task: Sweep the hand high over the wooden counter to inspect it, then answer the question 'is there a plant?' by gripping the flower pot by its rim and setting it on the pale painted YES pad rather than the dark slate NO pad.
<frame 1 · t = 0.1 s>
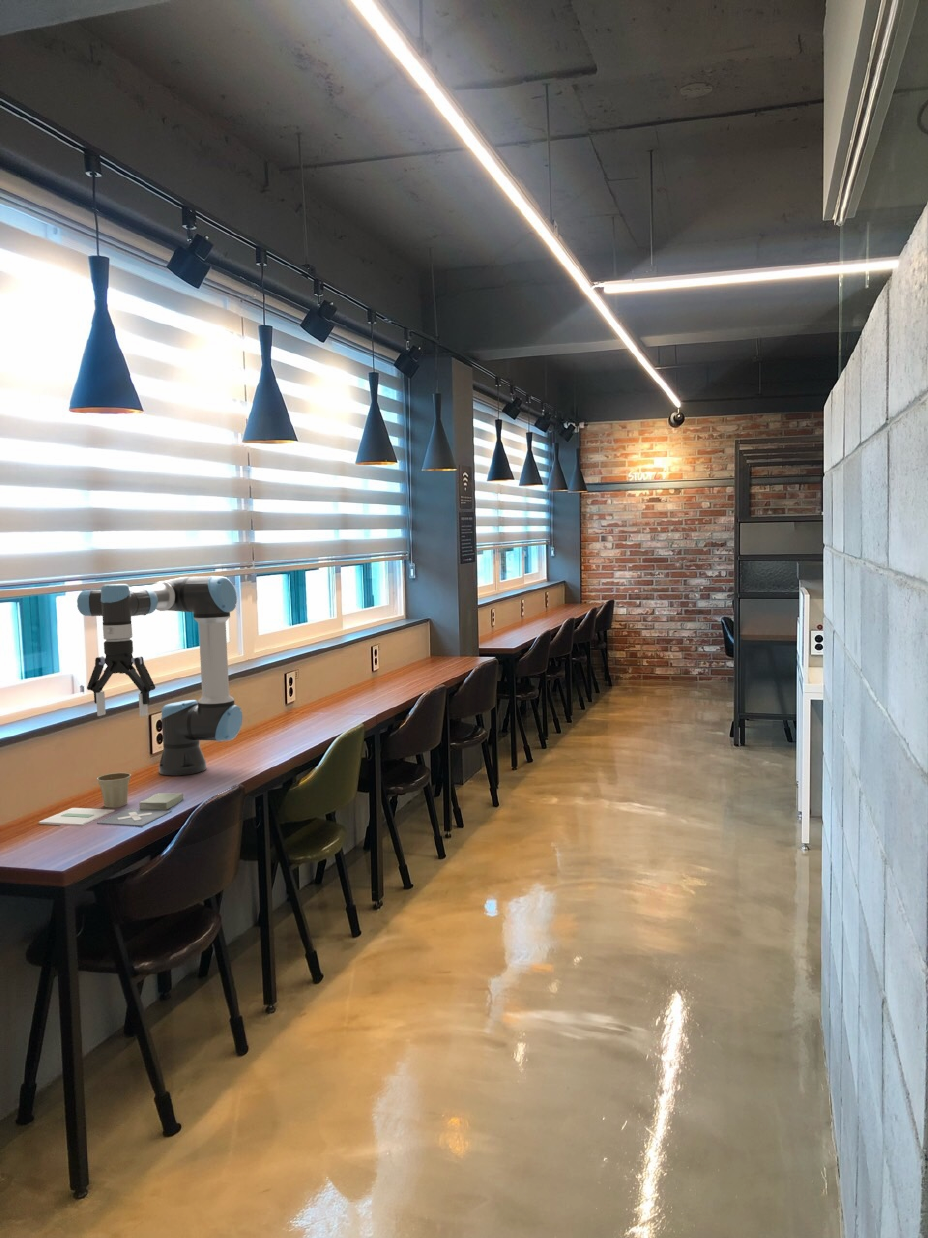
hand: (122, 715, 264), 28 cm above the table, fingers open, 13 cm apart
flower pot: (115, 806, 276), on the table
yes pad: (77, 817, 264), on the table
no pad: (135, 818, 262), on the table
notebook: (161, 804, 274), on the table, touching no pad
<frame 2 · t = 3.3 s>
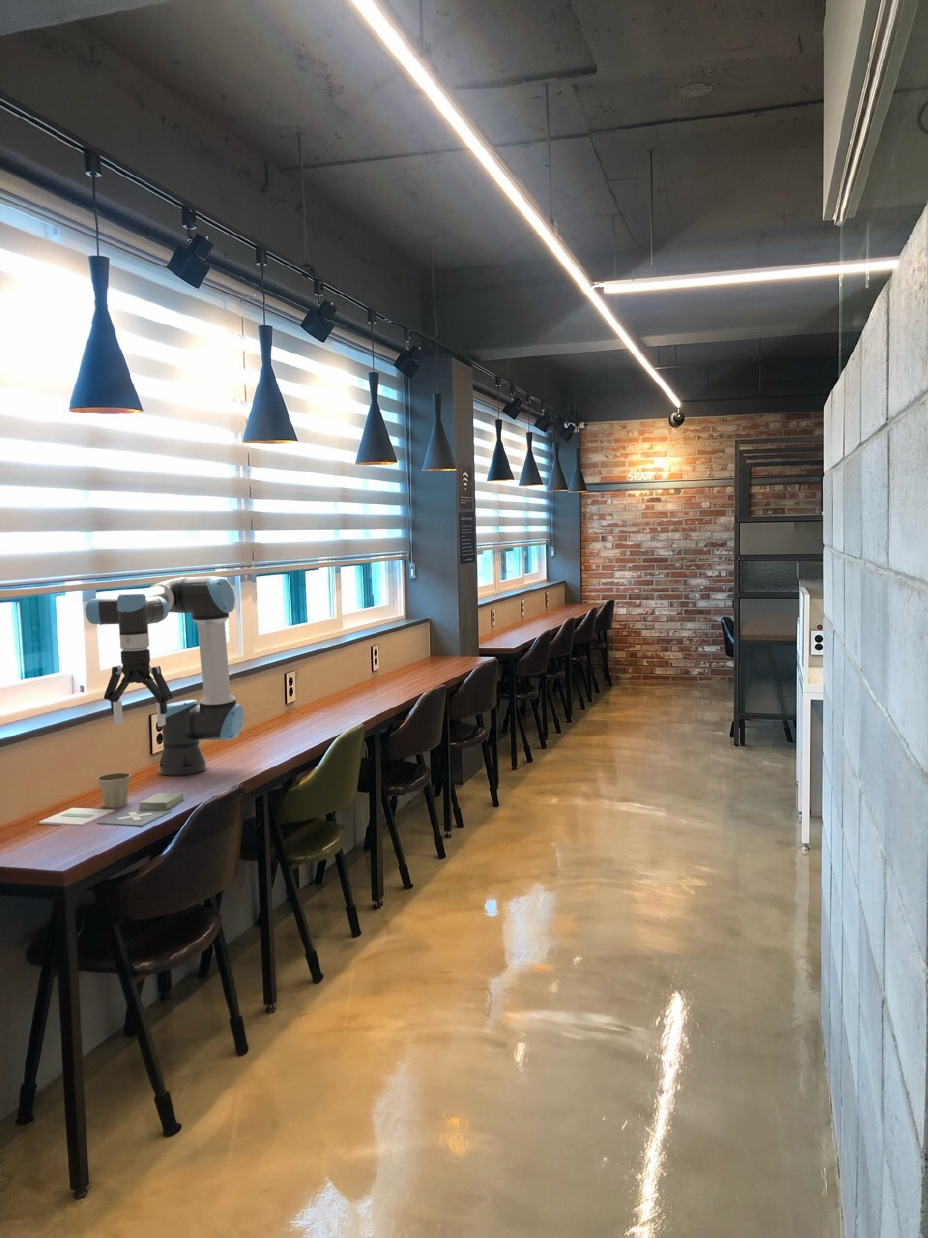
hand: (140, 725, 263), 25 cm above the table, fingers open, 13 cm apart
nothing on the table moved.
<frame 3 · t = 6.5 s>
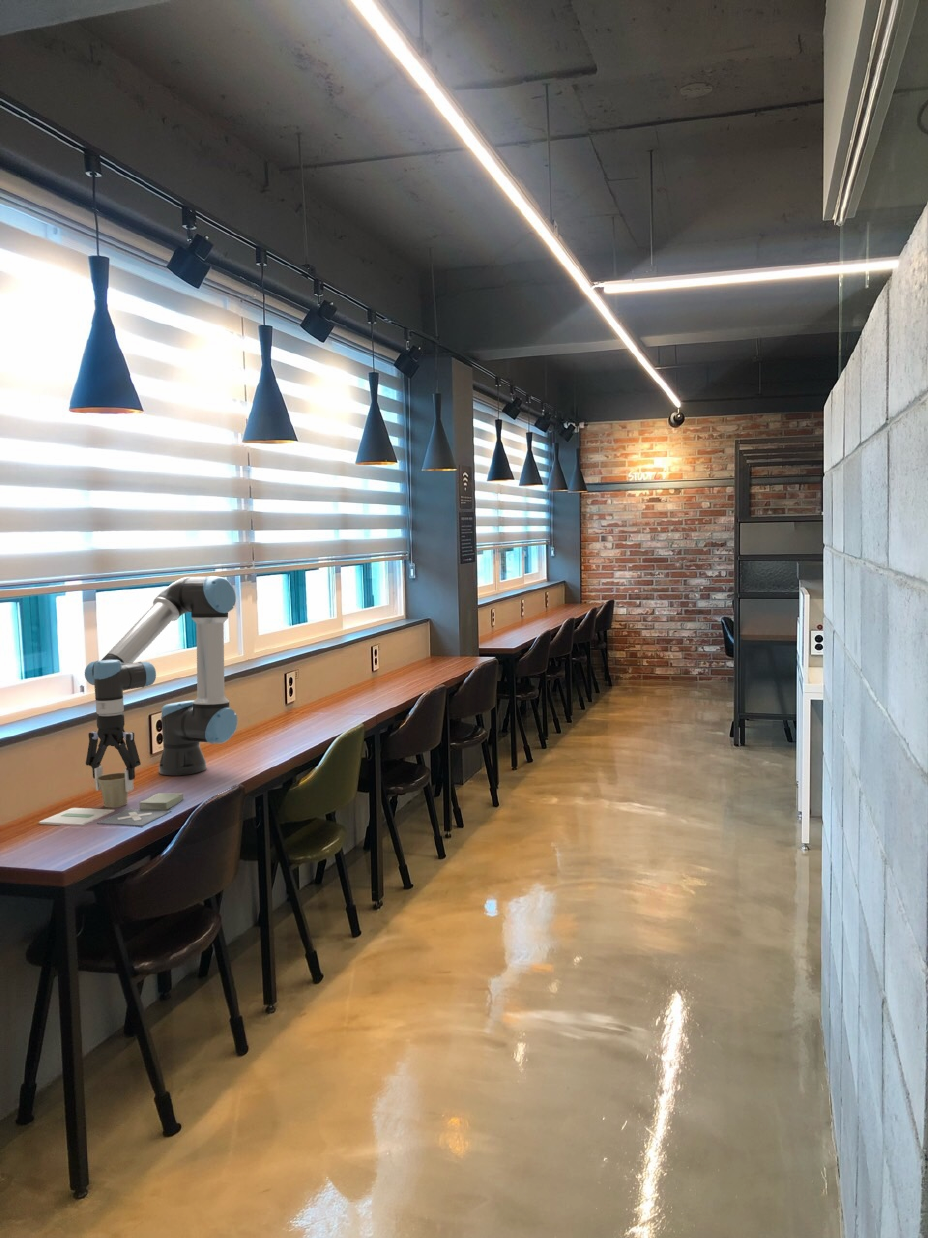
hand: (114, 790, 276), 5 cm above the table, fingers closed on flower pot, 9 cm apart
flower pot: (115, 806, 276), on the table, touching gripper
everything else where it was.
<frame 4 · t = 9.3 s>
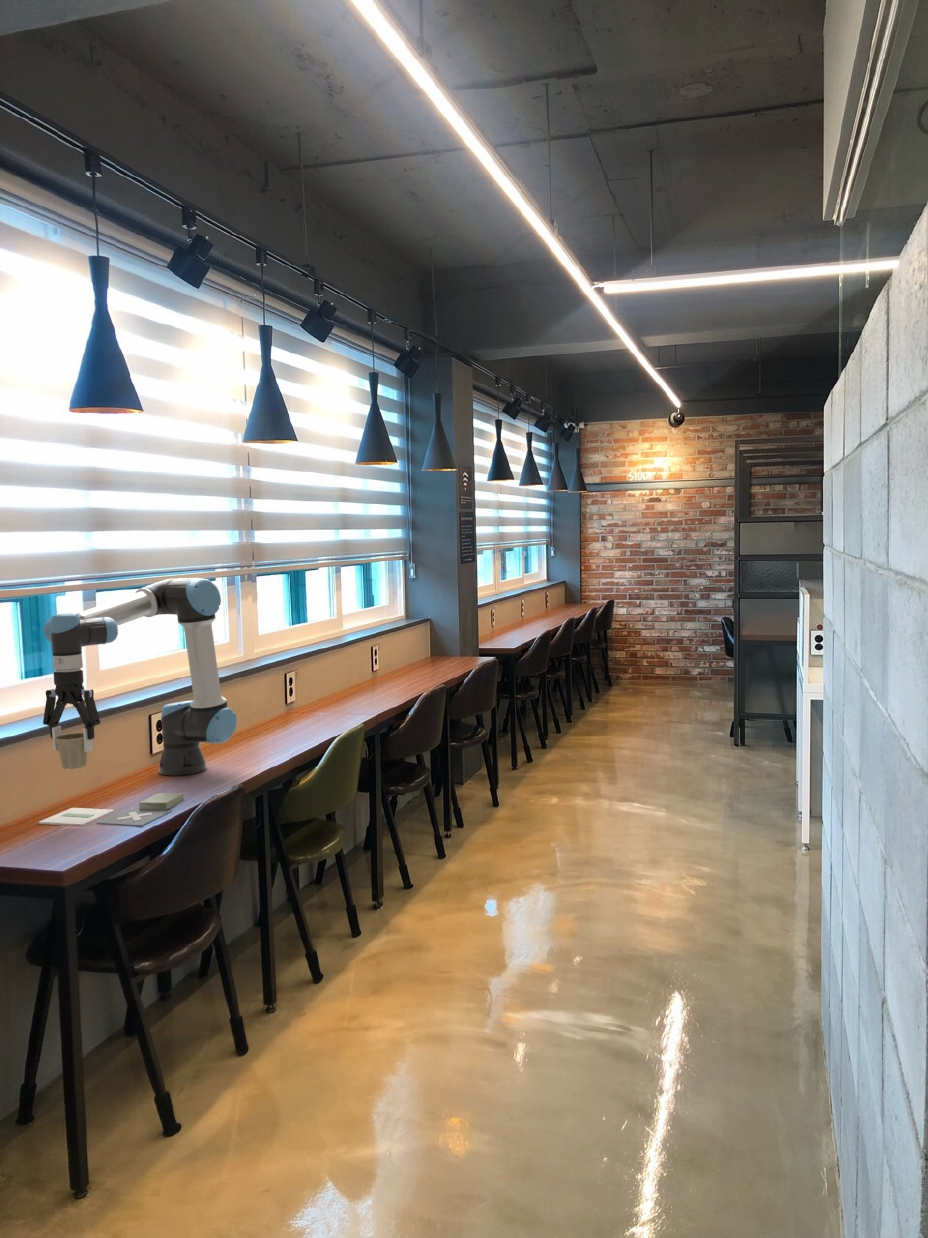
hand: (73, 750, 263), 19 cm above the table, fingers closed on flower pot, 9 cm apart
flower pot: (74, 767, 263), point 14 cm above the table, touching gripper
everything else where it was.
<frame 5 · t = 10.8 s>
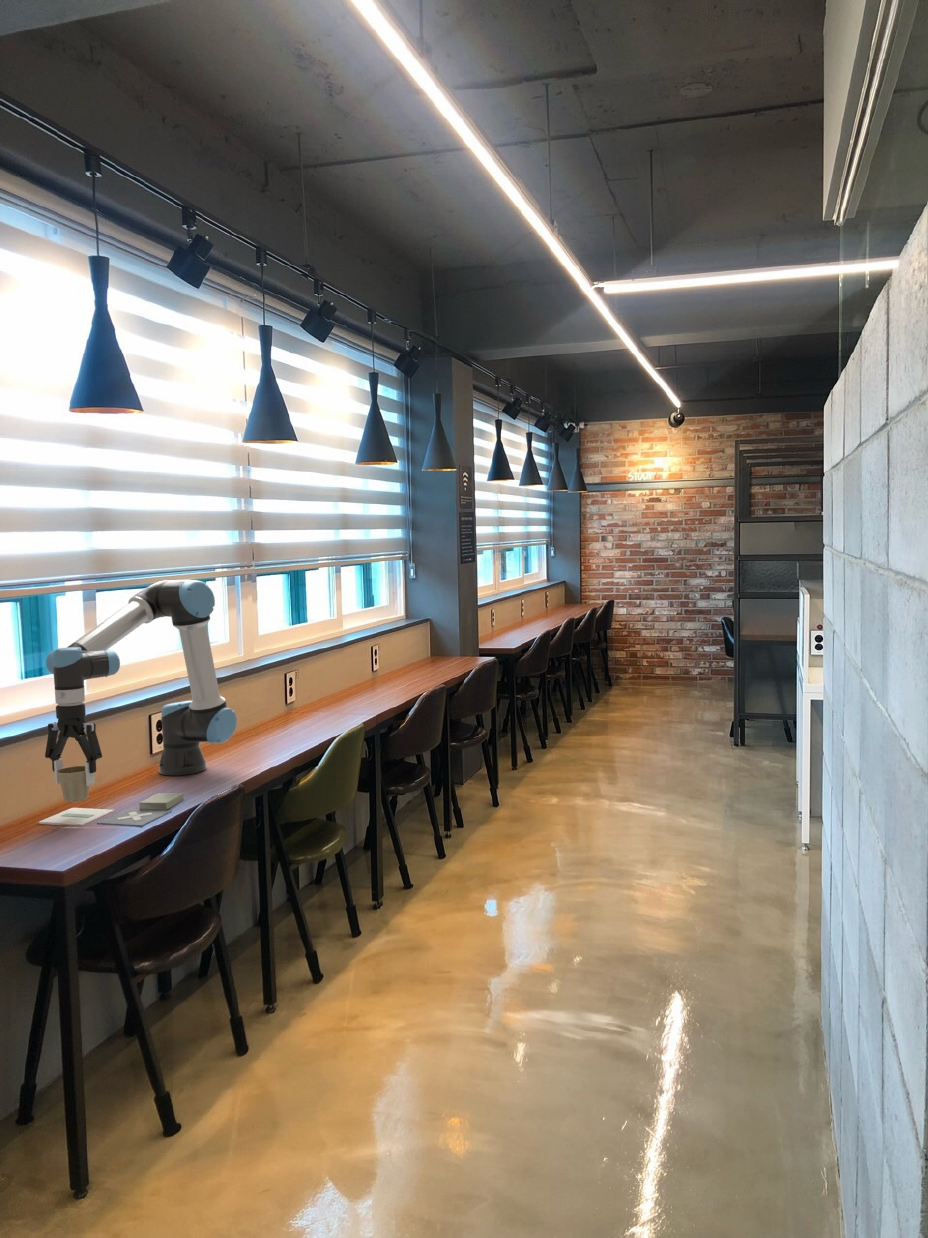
hand: (75, 783, 263), 10 cm above the table, fingers closed on flower pot, 9 cm apart
flower pot: (76, 800, 264), point 5 cm above the table, touching gripper
everything else where it was.
when the fingers open (6 cm above the table, at t = 12.1 s): flower pot stays where it is, resting on yes pad.
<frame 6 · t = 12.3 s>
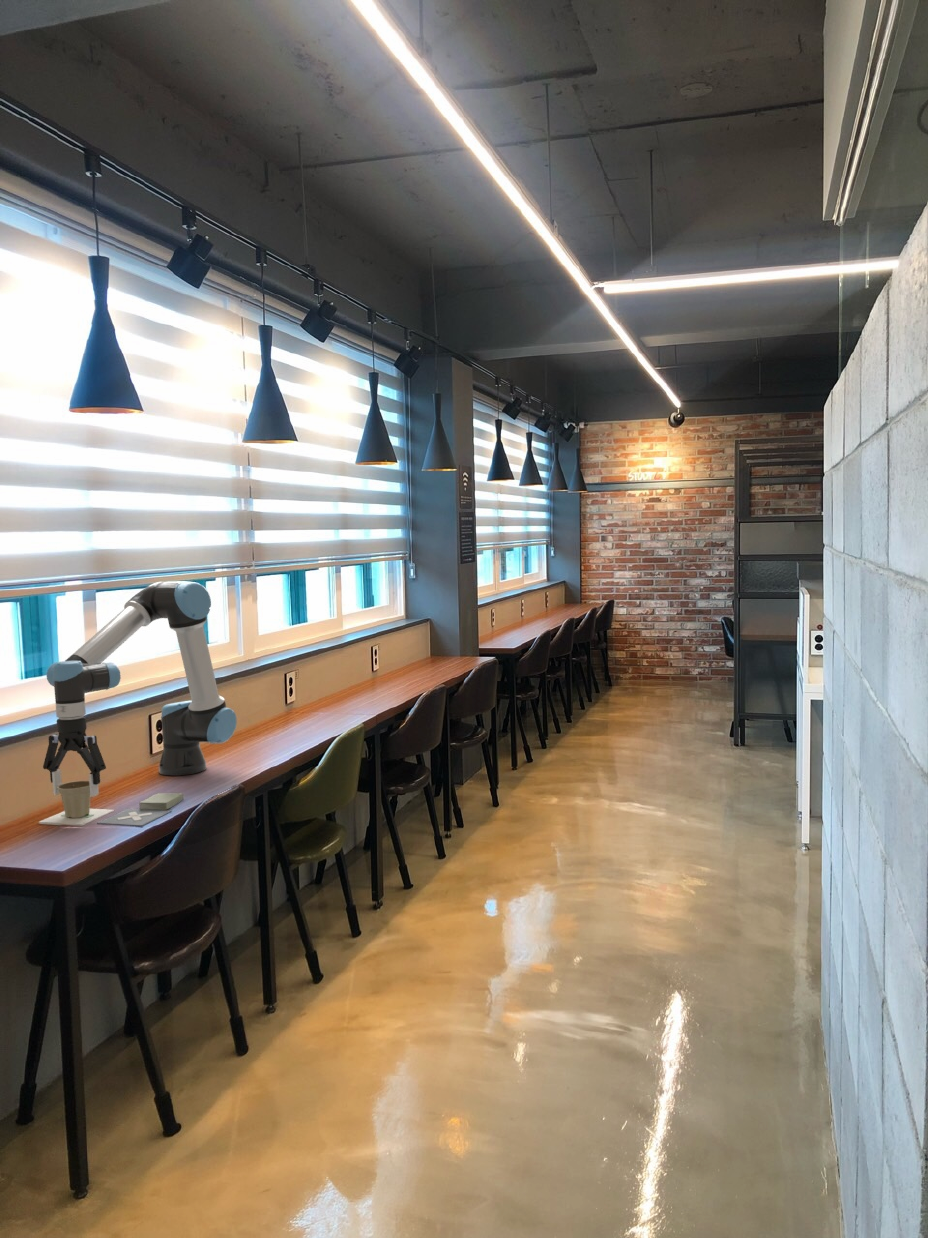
hand: (76, 795, 264), 6 cm above the table, fingers open, 11 cm apart
flower pot: (77, 815, 264), point 1 cm above the table, touching yes pad
everything else where it was.
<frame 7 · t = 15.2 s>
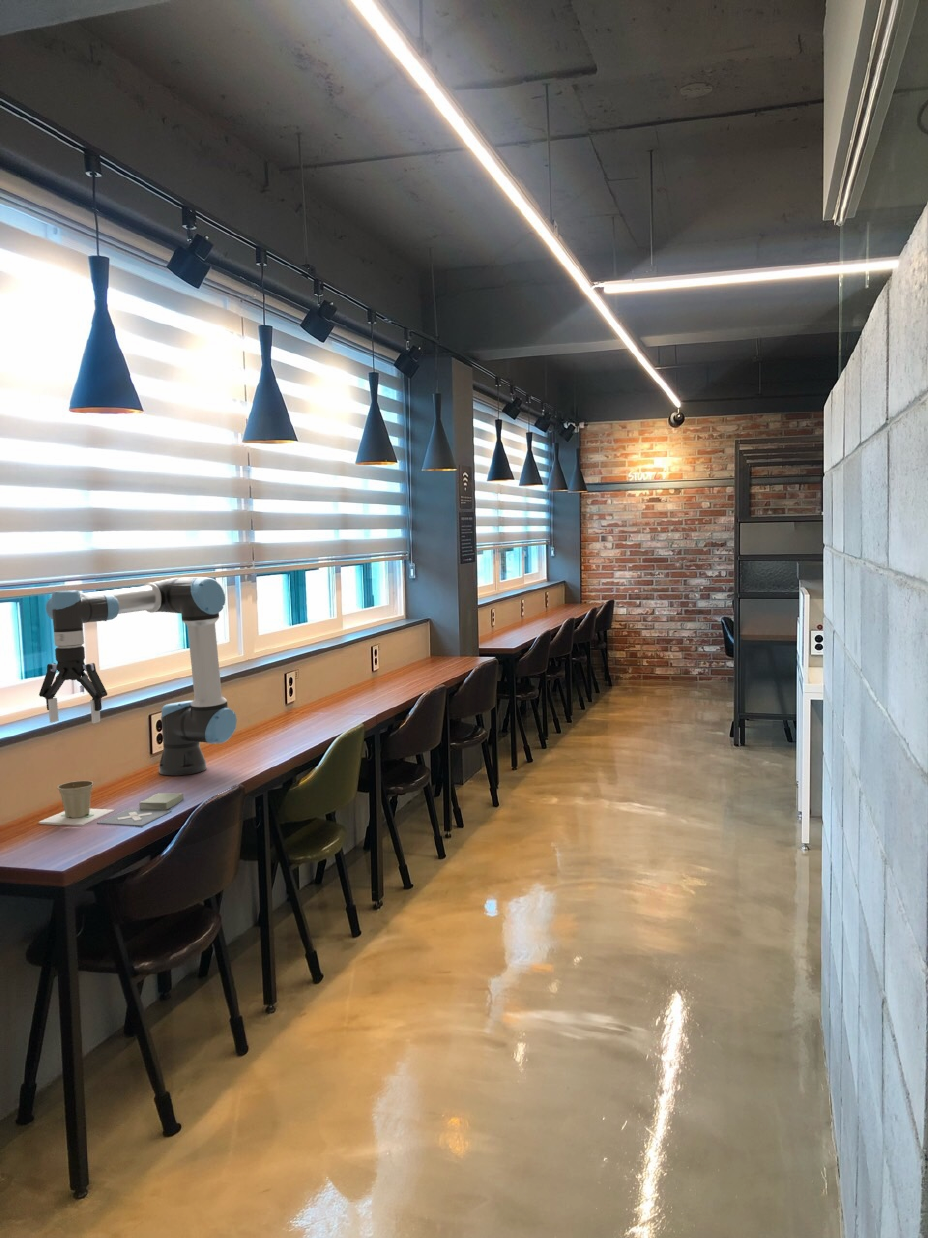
hand: (75, 722, 264), 27 cm above the table, fingers open, 13 cm apart
nothing on the table moved.
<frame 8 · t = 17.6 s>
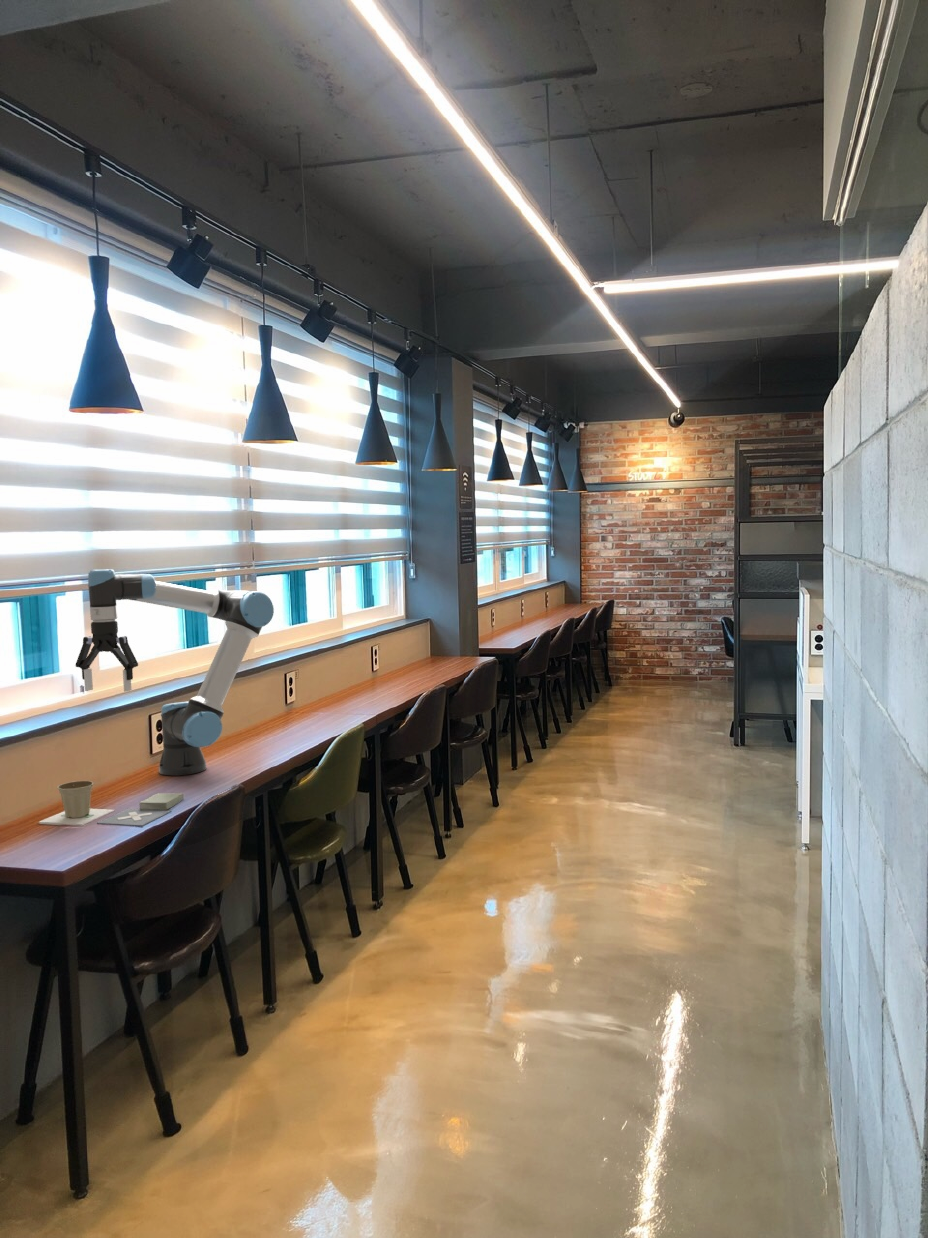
hand: (108, 690, 287), 32 cm above the table, fingers open, 13 cm apart
nothing on the table moved.
at the end: flower pot inside the target area on the yes pad (0.0 cm from its centre), point 0.5 cm above the yes pad's base; flower pot tilted 0°; the gripper is holding nothing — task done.
